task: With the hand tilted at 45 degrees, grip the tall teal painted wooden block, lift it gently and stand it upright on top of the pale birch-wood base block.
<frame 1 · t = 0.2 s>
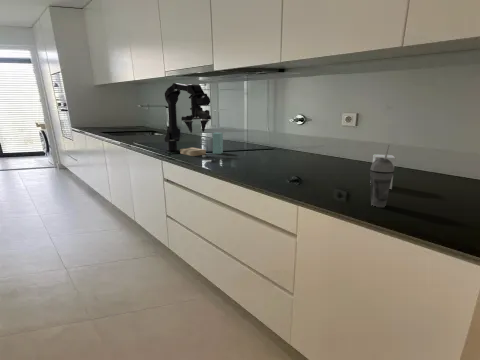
hand: (197, 132, 203), 14 cm above the countertop, tool pointing down, fingers open, 9 cm apart
beverage cup: (378, 205, 109), on the countertop
teal tall block: (217, 153, 216), on the countertop
birch base block: (193, 153, 212), on the countertop
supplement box: (380, 187, 132), on the countertop
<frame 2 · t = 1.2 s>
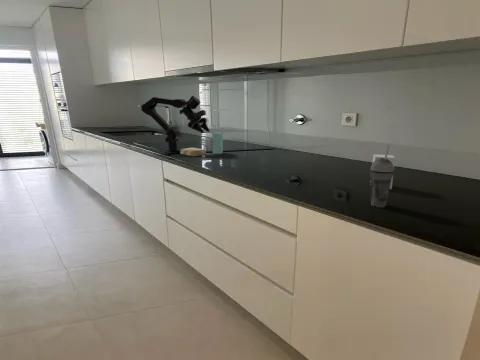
hand: (206, 132, 215), 13 cm above the countertop, tool tilted 45°, fingers open, 9 cm apart
nothing on the countertop moved.
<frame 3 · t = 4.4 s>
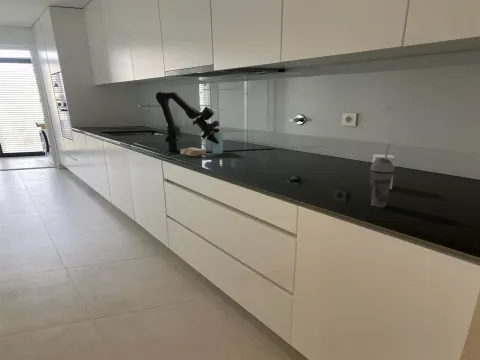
hand: (219, 143, 214), 7 cm above the countertop, tool tilted 45°, fingers closed on teal tall block, 5 cm apart
teal tall block: (217, 153, 216), on the countertop, touching gripper
everything else where it was.
when the fingers open (10 cm above the countertop, at t = 10.1 s): teal tall block stays where it is, resting on birch base block.
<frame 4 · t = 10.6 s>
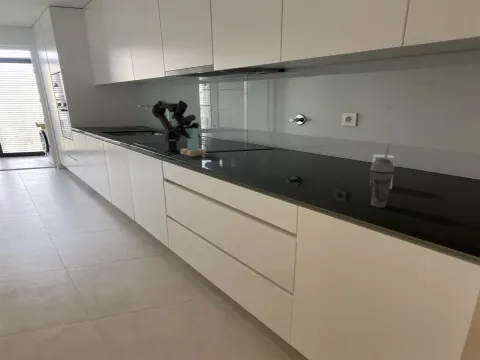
hand: (194, 137, 208), 11 cm above the countertop, tool tilted 45°, fingers open, 9 cm apart
teal tall block: (193, 149, 211), point 3 cm above the countertop, touching birch base block
everything else where it was.
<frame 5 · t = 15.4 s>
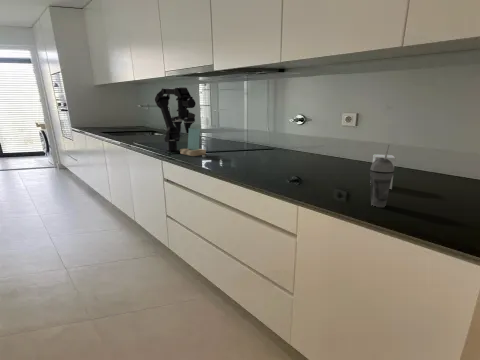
hand: (183, 132, 212), 13 cm above the countertop, tool pointing down, fingers open, 9 cm apart
teal tall block: (193, 148, 211), point 3 cm above the countertop, tilted 6°, touching birch base block, gripper
everything else where it was.
at the end: teal tall block inside the target area on the birch base block (0.5 cm from its centre), point 3.3 cm above the birch base block's base; teal tall block tilted 6°; the gripper is holding nothing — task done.
